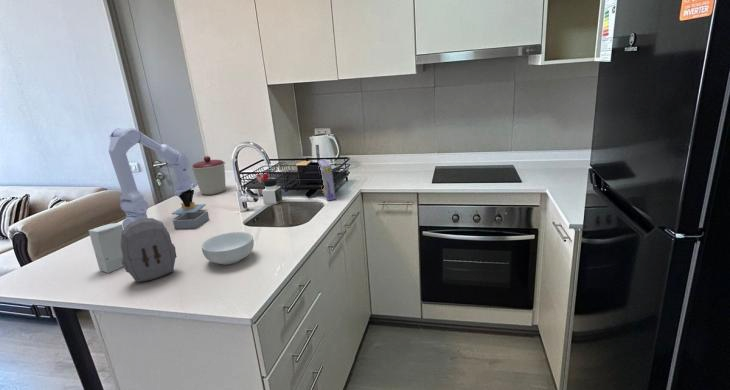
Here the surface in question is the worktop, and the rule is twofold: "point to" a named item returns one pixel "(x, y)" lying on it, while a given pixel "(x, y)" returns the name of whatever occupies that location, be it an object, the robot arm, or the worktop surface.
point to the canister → (210, 176)
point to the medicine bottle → (271, 192)
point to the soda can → (262, 179)
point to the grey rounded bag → (147, 249)
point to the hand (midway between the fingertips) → (188, 206)
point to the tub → (191, 220)
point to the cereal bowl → (228, 247)
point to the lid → (189, 208)
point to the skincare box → (107, 246)
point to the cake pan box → (327, 179)
